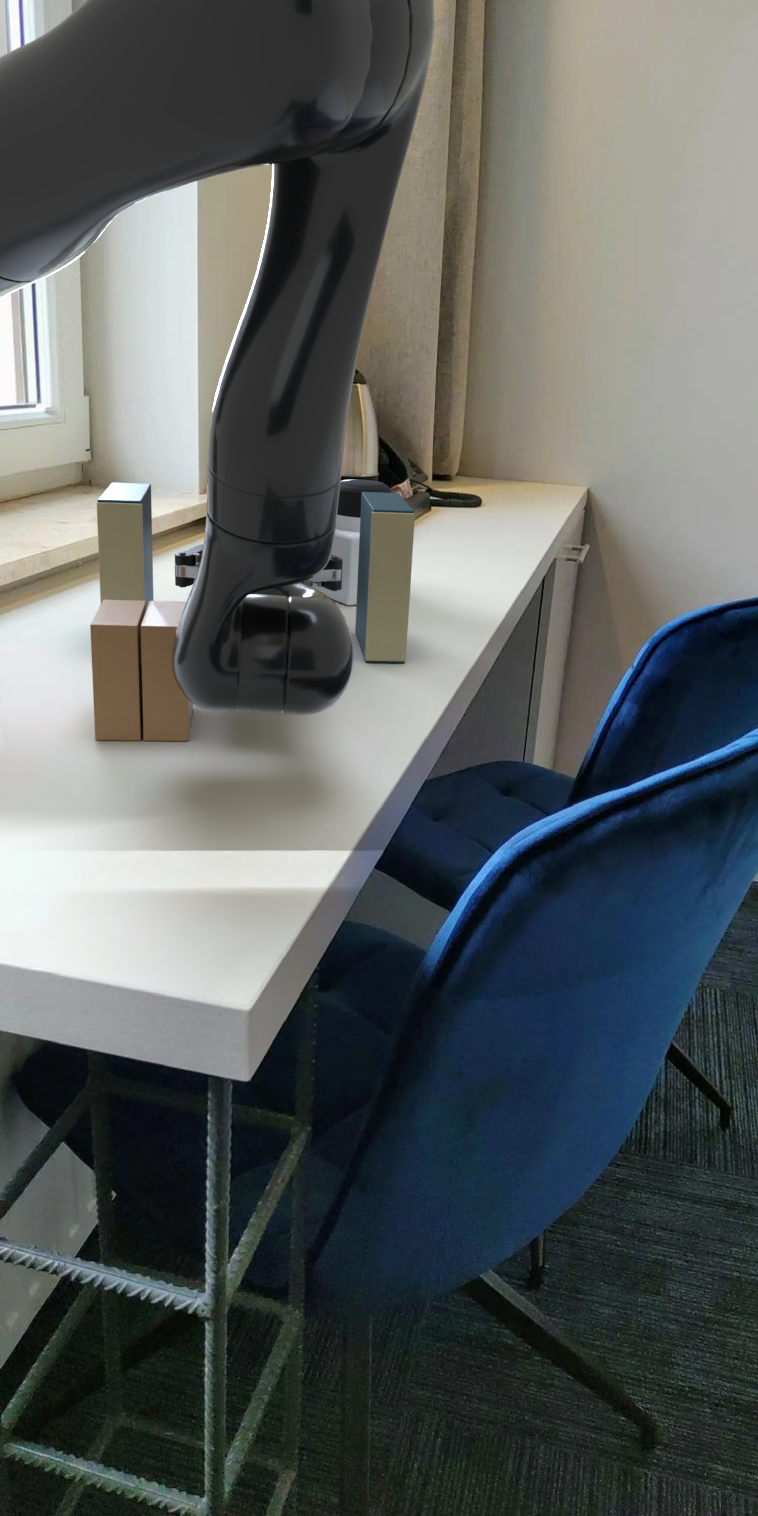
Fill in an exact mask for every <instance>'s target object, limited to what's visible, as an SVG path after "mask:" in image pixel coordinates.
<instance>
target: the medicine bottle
mask: <svg viewBox="0 0 758 1516" xmlns="http://www.w3.org/2000/svg"><path fill="white" fill-rule="evenodd" d="M362 492H380V493H392V489H391V487H390V486H388V484H385V483H384V482H381V481H379V480H371V479H359V478H358V479H343V480H342V479H341V483H340V492H339V501H338V511H337V519H336V528H335V538H334V545H333V550H332V555H334V556H337V557H339V558H342V559H343V564H342V589H341V590H337V591H331V590H328V589H326V588H324V587H317V584H316V583H314V582H313V585H312V588H314V589H316V590H318V591H320V592H322V593H324V594H325V595H327V596H328V597H329V598H330V599H332V600H333V601H336V602H339V603H341V604H344V605H346V606H354V605H355V606H356V604H357V583H358V561H359V539H360V517H361V495H362Z"/></svg>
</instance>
